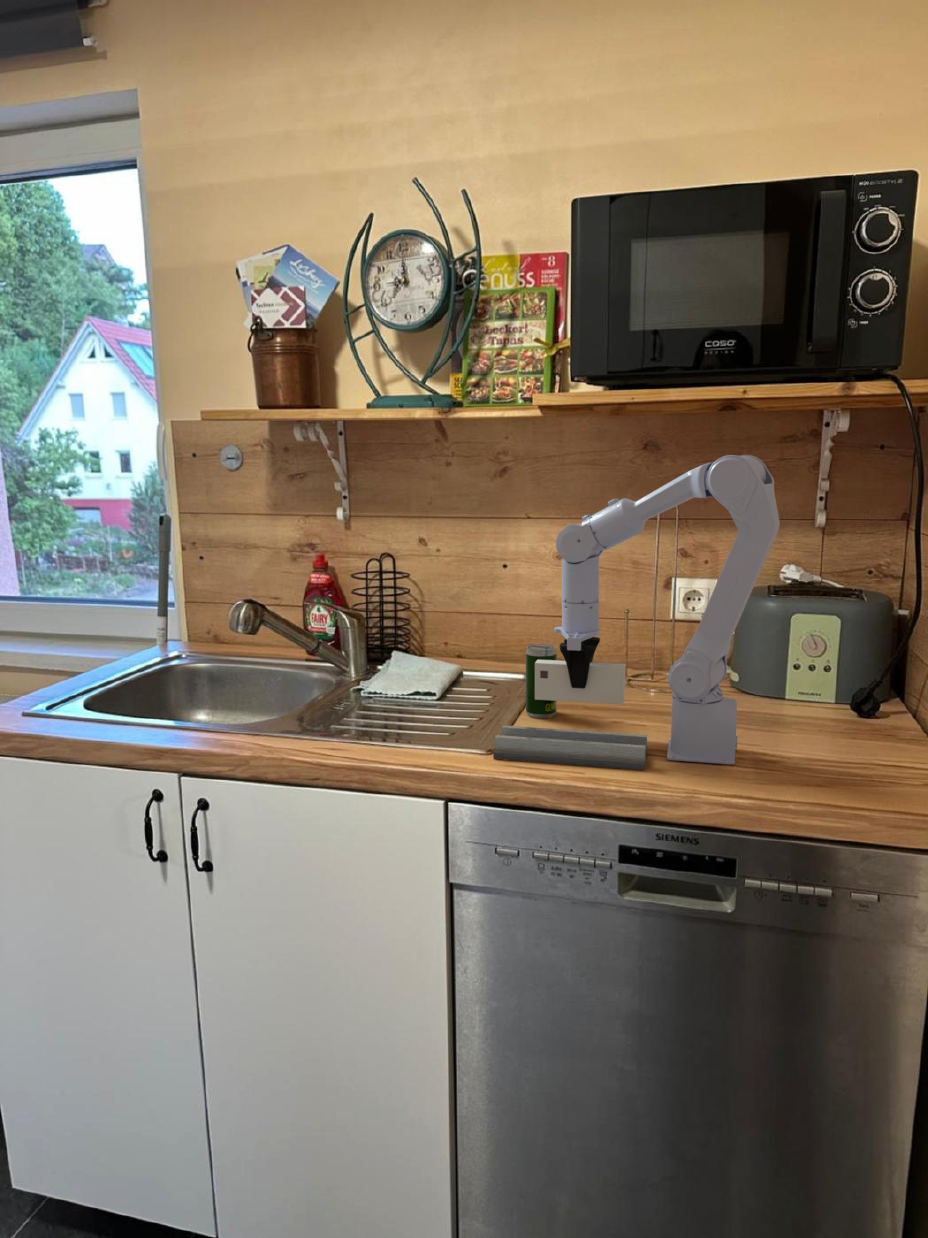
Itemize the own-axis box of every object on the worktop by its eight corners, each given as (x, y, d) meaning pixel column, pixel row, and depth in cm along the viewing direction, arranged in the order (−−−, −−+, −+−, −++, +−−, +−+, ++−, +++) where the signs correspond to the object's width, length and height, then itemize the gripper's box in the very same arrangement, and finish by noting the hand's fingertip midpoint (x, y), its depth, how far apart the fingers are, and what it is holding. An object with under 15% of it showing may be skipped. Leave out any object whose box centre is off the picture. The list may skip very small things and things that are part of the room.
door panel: (624, 700, 132) (625, 663, 131) (623, 704, 130) (624, 667, 129) (537, 695, 136) (537, 659, 135) (534, 699, 133) (534, 663, 132)
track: (647, 751, 126) (647, 732, 125) (644, 770, 118) (644, 750, 118) (505, 741, 131) (504, 723, 131) (493, 758, 124) (493, 739, 123)
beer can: (520, 716, 144) (520, 648, 142) (533, 708, 149) (533, 642, 147) (549, 720, 142) (549, 651, 140) (561, 712, 146) (561, 645, 144)
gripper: (561, 593, 138) (561, 672, 140) (546, 608, 124) (547, 696, 126) (604, 594, 136) (604, 674, 138) (594, 609, 122) (593, 698, 125)
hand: (579, 685), depth 132 cm, fingers closed on door panel, 2 cm apart
